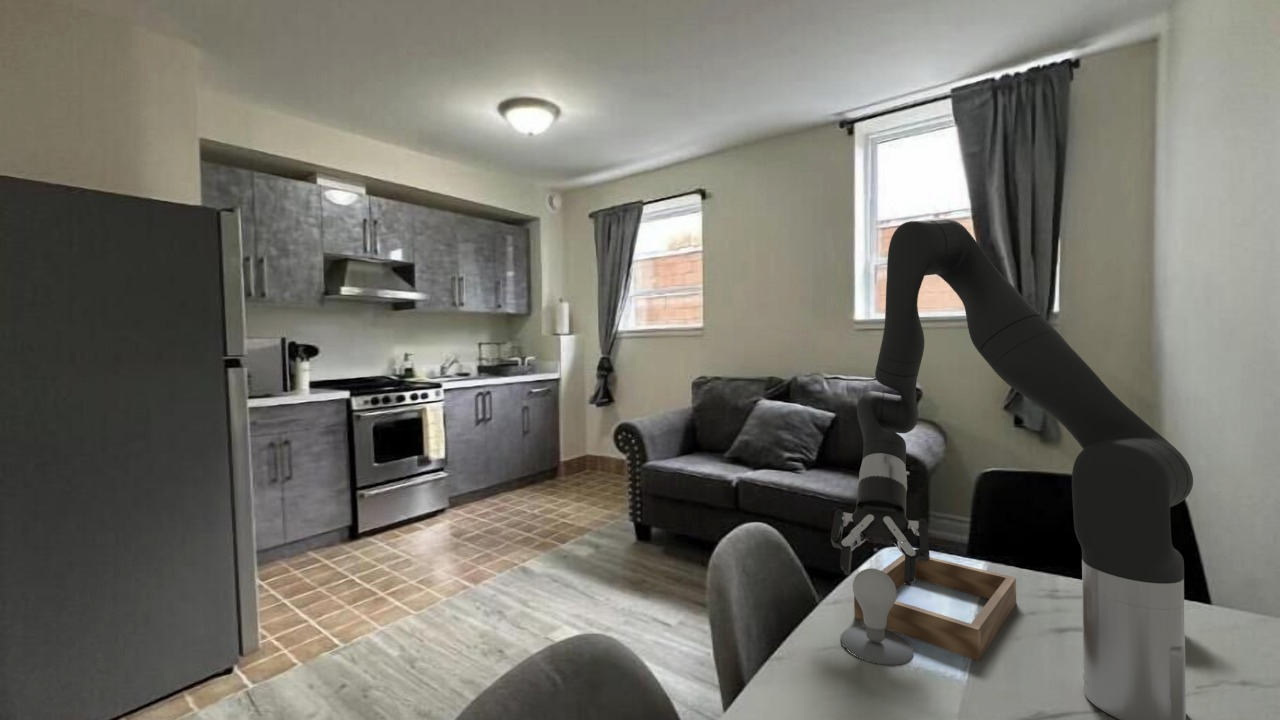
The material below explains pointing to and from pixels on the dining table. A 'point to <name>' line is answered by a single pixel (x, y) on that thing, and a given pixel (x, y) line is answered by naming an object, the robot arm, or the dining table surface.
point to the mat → (877, 646)
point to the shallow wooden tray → (946, 629)
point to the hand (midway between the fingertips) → (876, 578)
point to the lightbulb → (874, 600)
